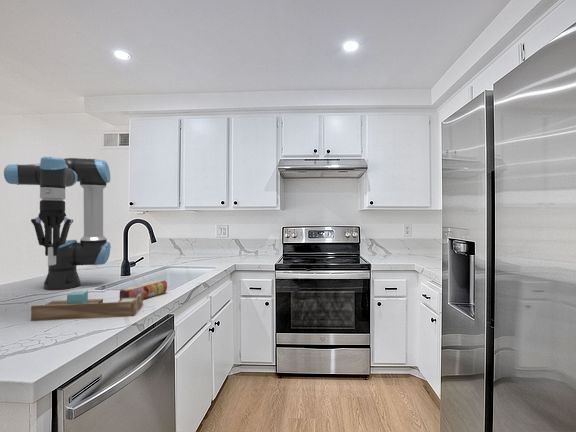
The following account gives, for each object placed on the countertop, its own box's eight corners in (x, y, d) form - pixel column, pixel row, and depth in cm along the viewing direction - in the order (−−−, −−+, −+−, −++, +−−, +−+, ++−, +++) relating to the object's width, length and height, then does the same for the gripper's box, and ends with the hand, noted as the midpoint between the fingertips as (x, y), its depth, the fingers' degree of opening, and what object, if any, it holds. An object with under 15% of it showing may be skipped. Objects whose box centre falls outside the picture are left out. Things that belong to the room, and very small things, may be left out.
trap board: (52, 308, 127) (52, 295, 127) (142, 304, 134) (142, 292, 134) (30, 320, 112) (31, 306, 112) (133, 315, 119) (133, 302, 119)
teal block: (72, 304, 121) (73, 291, 121) (87, 304, 122) (87, 291, 122) (66, 308, 117) (67, 294, 116) (82, 308, 118) (82, 294, 118)
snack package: (128, 304, 134) (128, 288, 134) (117, 302, 137) (117, 286, 136) (167, 293, 153) (168, 279, 153) (157, 292, 156) (157, 278, 156)
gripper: (26, 199, 113) (25, 266, 113) (68, 200, 115) (67, 266, 115) (38, 200, 120) (37, 263, 120) (77, 200, 123) (76, 262, 123)
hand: (52, 264), depth 118 cm, fingers closed
